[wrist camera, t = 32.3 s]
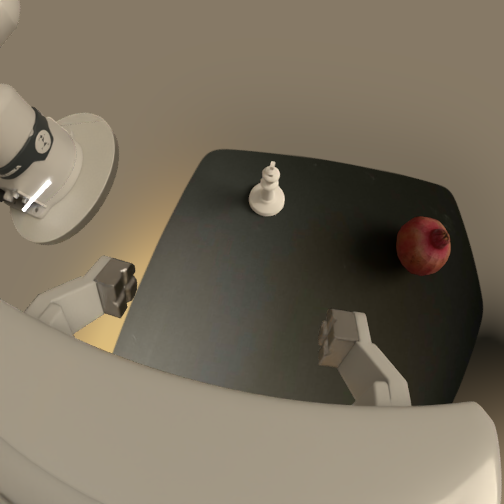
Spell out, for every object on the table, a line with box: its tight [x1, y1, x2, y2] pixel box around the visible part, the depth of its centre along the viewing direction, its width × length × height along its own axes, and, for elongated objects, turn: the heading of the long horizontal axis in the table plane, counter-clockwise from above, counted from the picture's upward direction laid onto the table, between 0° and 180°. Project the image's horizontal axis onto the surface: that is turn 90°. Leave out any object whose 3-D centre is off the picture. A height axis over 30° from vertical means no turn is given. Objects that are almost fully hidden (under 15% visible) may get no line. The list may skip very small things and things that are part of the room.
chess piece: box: [249, 161, 284, 216], centre depth 34 cm, size 5×5×10 cm
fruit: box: [396, 217, 450, 276], centre depth 33 cm, size 8×8×10 cm
